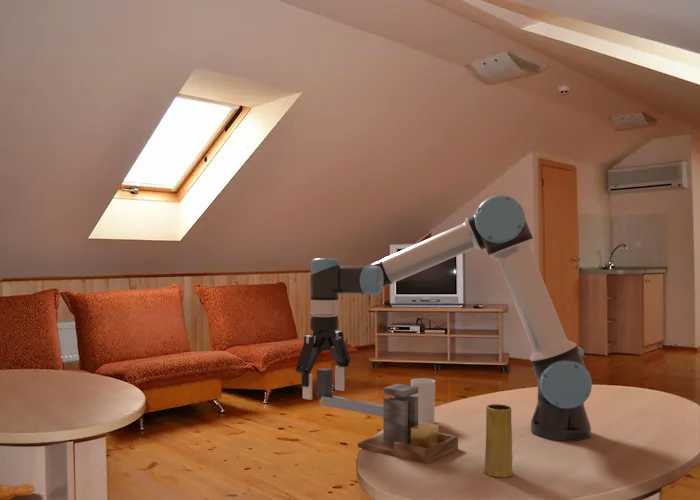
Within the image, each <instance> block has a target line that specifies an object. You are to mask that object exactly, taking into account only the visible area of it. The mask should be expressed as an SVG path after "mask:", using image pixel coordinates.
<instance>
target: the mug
mask: <svg viewBox="0 0 700 500" xmlns="http://www.w3.org/2000/svg"><path fill="white" fill-rule="evenodd" d="M410 386H416V387H418V393H416V394H413V395H410V396H416V397H418V425H419V424H422V423H424V422H425V423H430V424H435V414H436V413H435V412H436V407H435V406H436V380H435V379H432V378H412V379H410Z"/></svg>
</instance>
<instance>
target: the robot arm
mask: <svg viewBox="0 0 700 500" xmlns="http://www.w3.org/2000/svg"><path fill="white" fill-rule="evenodd" d="M533 241H535V239H534V236H533V235H532V232H531V230H530V227H529V225H528V222H527V220H526V217H525V211H524V209H523V207H522V205H521V204H520V203H519V202H518V201H517V200H516V199H515V198H513V197H511V196H509V195H504V194H503V195H502V194H499V195H493V196H490V197H488V198H486V199H484V200H482V202H481V203H480V204H479V206H478V207H477V209H476V212H475V213H474V214H472V215H470V216H467V217H466V218H465V219H464V222H463V223H461V224H459V225H456V226H454V227H452V228H449V229H447V230H445V231H443V232H440V233H438V234H436V235H434V236H432V237H429V238H426V239H424V240H422V241H420V242H417V243H415V244H413V245H411V246H409V247H406V248H404V249H401V250H400V251H398V252H395V253H393V254H390V255H388V256H385V257H384V258H382V259H378V260H376V261H374V262H372V263H369V264H367V265H366V264H365V265H342V264H341V265H340V264H339V263H340V262H339V259H338V258H336V257H335V258H330V257H329V258H328V257H327V258H325V257H324V258H323V257H321V258H320V257H318V258H317V257H315V258H313V259H312V260H311V263H310V274H309V276H310V314H311V316H310V317H309V319H310V320H309V321H310V323H309V327H310V330H311V331H312V334H311V335H307V334H305V335H304V337H303V345H302V349H301V351H300V354H299V358H298V361H297V364H296V367H295V372H296V373H298V374H301V387H302V399H304V400H309V401H310V400H313V373H311V372H312V370H313V368H314V366H315V364H316V363H317V360H318V358H319V356H320V354H321V353H323V352H324V351H325V352H326V351H328V352H329V353H330V354H331V357H332V359H333V360H334V361H335V363H336V365H335V366H334V373H335V374H334V390H335V391H341V392H344V391H345V377H346V367H349V364H351V358H350V355H349V351H348V349H347V345H346V343H345V339H344V331H341V330H338V329H339V316H338V314H339V313H340V312H339V294H341V295H342V294H347V295H348V294H350V295H367V296H369V295H379V294H380V293H382V291H383V288H384V287H387V286H390V285H392V284H394V283H397V282H398V281H402V280H403V279H405V278H409V277H410V276H412V275H415V274H418V273H419V272H422V271H424V270H427V269H429V268H432V267H434V266H437V265H439V264H441V263H444V262H445V261H448V260H450V259H453V258H455V257H457V256H460V255H462V254H464V253H467V252H469V251H471V250H474V249H476V250H481V251H482V250H484V249H486V253H487V254H488V257H489V258H491V259H495V261H497V264H498V265H499V269H500V271H501V274H502V276H503V278H504V280H505V283H506V287H507V289H508V291H509V294H510V295H511V299H512V301H513V304H514V306H515V309H516V312H517V314H518V316H519V318H520V321H521V323H522V326H523V328H524V329H523V330H524V332H525V334H526V336H527V338H528V341H529V343H530V346H531V348H532V353H531V355H530V357H529V360H530V363H531V366H532V367H533V371H534V374H535V376H536V379H537V403H536V406H535V409H534V411H533V414H532V418H531V421H530V432H531V433H533V434H534V435H535V436H538V437H541V438H545V439H551V440H557V441H582V440H586V439H590V438H591V436H592V426H591V423H590V419H589V416H588V414H587V411H586V408H585V402H586V401H587V400H588V398H589V397H590V395H591V392H592V387H593V379H592V376H591V374H590V372H589V370H588V369H587V367H586V365H585V361H584V360H585V353H584V348H582V347H580V346H577V343H575V342H574V341H571V340H569V339H568V338H567V335H566V333H565V331H564V328H563V325H562V323H561V320H560V318H559V315H558V313H557V311H556V308H555V306H554V304H553V301H552V298H551V296H550V293H549V291H548V289H547V285H546V283H545V281H544V278H543V276H542V274H541V272H540V269H539V266H538V264H537V261H536V259H535V255H534V254H533V251H532V249H531V247H532V244H533Z"/></svg>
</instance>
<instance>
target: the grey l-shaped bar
mask: <svg viewBox="0 0 700 500" xmlns="http://www.w3.org/2000/svg"><path fill="white" fill-rule="evenodd" d="M316 396H317V397H321V406H324V407H330V408H335V409H339V410H345V411H351V412H356V413H362V414H367V415H371V416H377V417H380V418H381V417H382V418H383V403H377V402H372V401H366V400H361V399H354V398H351V397H350V398H348V397H343V396H339V395H337V396H336V395H333V369H332V368H328V367H323V368H317V369H316Z"/></svg>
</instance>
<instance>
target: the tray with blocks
mask: <svg viewBox="0 0 700 500" xmlns="http://www.w3.org/2000/svg"><path fill="white" fill-rule="evenodd" d="M416 393H418V387H416V386H411V384H410V385H408V384H403V383H395V384H392V385H388V386H385V387H383V395H387V396H393V397H387V396H385V397H383V403H382V404H383V417H382V419H383V427H382V428H383V429H382V431H383V433H380V434H377V435H375V436H372V437H370V438H368V439H364V440H361V441H359V442H357V448H359V449H364V450H367V451H373V452H377V453H381V454H386V455H389V456H394V457H399V458H403V459H407V460H410V461H415V462H420V463H425V464H428V465H429V464H432V463H434V462H435V461H437V460H439V459H441V458H443V457H445V456H446V455H449V454H451V453H453V452H454V451H456V450H459V436H458V435H453V434H447V433H443V432H442V433H441V432H439V443H438V444H436V445H434V446H432V447H429V448H423V447H418V446H413V445H411V427H414V426H416V425H418V397H416V396H411V395H413V394H416Z"/></svg>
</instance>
